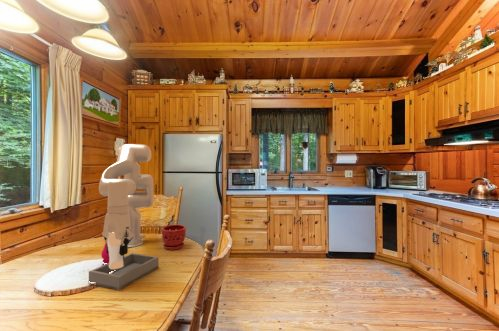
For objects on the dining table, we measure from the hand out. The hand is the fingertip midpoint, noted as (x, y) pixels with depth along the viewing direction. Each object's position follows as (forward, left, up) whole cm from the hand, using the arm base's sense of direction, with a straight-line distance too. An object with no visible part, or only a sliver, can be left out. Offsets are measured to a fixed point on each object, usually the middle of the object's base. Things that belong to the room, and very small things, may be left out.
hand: (117, 253), depth 101 cm
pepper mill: (-13, -18, -11) cm, 25 cm away
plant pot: (-43, -3, -11) cm, 45 cm away
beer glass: (0, 0, -6) cm, 6 cm away
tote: (-5, 0, -11) cm, 12 cm away
